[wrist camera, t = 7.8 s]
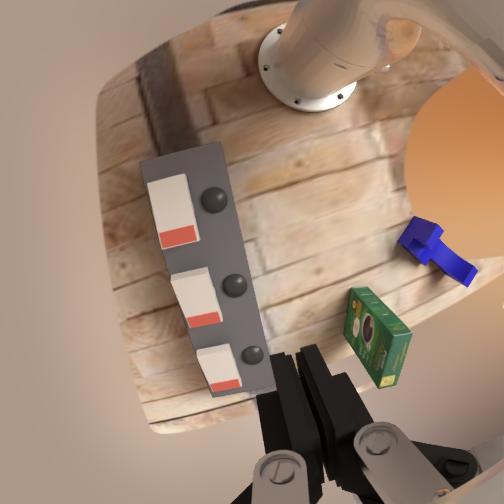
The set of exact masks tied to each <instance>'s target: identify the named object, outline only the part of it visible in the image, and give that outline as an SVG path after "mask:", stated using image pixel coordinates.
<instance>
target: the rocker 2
mask: <svg viewBox="0 0 504 504" xmlns="http://www.w3.org/2000/svg"><path fill="white" fill-rule="evenodd" d="M171 284H172V286H173V289H174V291H175V294H176V296H177V299H178V301H179V304H180V306H181V308H182V311H183V313H184V316H185V318H186V320H187V323H188V325H189V327H190V328H195V327H200V326H205V325H210V324H214V323H219V322H223V317H222V312H221V309H220V306H219V303H218V300H217V297H216V292H215V288H214V287H213V284H212V281H211V278H210V274H209V271H208V268H207V267H204V268H199V269H195V270H191V271H186V272H182V273H177V274H173V275H171Z"/></svg>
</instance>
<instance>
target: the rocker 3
mask: <svg viewBox="0 0 504 504" xmlns="http://www.w3.org/2000/svg"><path fill="white" fill-rule="evenodd" d="M197 359H198V361H199V363H200V365H201V368H202V370H203V372H204V374H205V377H206V379H207V381H208V383H209V385H210V387H211V390H212V392H217V391H222V390H228V389H233V388H238V387H241V386H242V382H241V378H240V375H239V372H238V369H237V366H236V361H235V358H234V357H233V354H232V351H231V348H230V345H229V343H228V344H223V345H219V346H214V347H208V348H203V349H198V350H197Z"/></svg>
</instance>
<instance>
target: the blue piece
mask: <svg viewBox="0 0 504 504" xmlns="http://www.w3.org/2000/svg"><path fill="white" fill-rule="evenodd" d="M443 232H444V231H443V229H442V228H441V227H440V226H439V225H438V224H436V223H433V222H430V221H427V220H424V219H422V218H418V217H416V216H414V217H413V219H412V220H411V222H410V223H409V225H408V226H407V228H406V229H405V231H404V232H403V234H402V235H401V237H400V238H399V240H398V241H397V242H398V243H400V244H401V245H402V246H403V247H404V248H405V249H406V250H407V251H408V252H409V253H411V254H412V255H413V256H414V257H415V258H416V259H417V260H418V261H419V262H420V263H422V264H423V265H425V266H426V265H427V263H428V262H429V260H430V259H431V260H432V261H433V262H434V263H435V264H436V265H437V266H438V267H439V268H440V269H441V270H442V271H443V272H444V273H445V274H446V275H448V276H449V277H451V278H453V279H454V280H456V281H458V282H459V283H461V284H463V285H464V286H466V287H468V286H469V285H470V283H471V281H472V280H473V278H474V277H475V275H476V273H477V272H478V270H477V269H476V268H475V267H474V266H473V265H471V264H470V263H468V262H467V261H465V260H464V259H462V258H461V257H459V256H458V255H457V254H455V253H454V252H453V251H452V250H451V249H449V248H448V247H447V246H446V245H445V244H444V243H443V242H442V241H441V240H440V239H439V238H440V236H441V235H442V233H443Z"/></svg>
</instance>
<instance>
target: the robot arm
mask: <svg viewBox="0 0 504 504" xmlns="http://www.w3.org/2000/svg"><path fill="white" fill-rule="evenodd" d="M422 27H423V28H424V29H426V30H427V31H429V32H430V33H432V34H433V35H434V36H436V37H437V38H438V39H440V40H441V41H442V42H443V43H445V44H447V45H449V46H450V47H451V48H452V49H454V50H455V51H456V52H457V53H458V54H459V55H461V56H462V57H463V58H464V59H465V60H466V61H468V62H469V63H470V64H471V65H472V66H473V67H474V68H475V69H476V70H477V71H478V72H479V73H481V74H482V75H483V76H484V77H485V78H486V79H487V80H488V81H489V82H490V83H491V84H492V85H493V86H494V87H495V88H496V89H497V90H498V91H499V92H500V93H501V94H502V95H503V96H504V0H299V1H298V3H297V4H296V6H295V8H294V10H293V12H292V14H291V16H290V18H289V20H288V22H287V23H284V24H281V25H279V26H278V27H276V28H274V29H273V30H272V31H271V32H270V33H269V34H268V35H267V36H266V38H265V39H264V40H263V42H262V45H261V47H260V50H259V54H258V68H259V73H260V76H261V78H262V81H263V83H264V84H265V86H266V87H267V89H268V90H269V91H270V92H271V93H272V94H273V96H274V97H276V98H277V99H278V100H279V101H281V102H282V103H284V104H286V105H288V106H289V107H291V108H294V109H297V110H300V111H306V112H322V111H326V110H330V109H332V108H335V107H337V106H338V105H340V104H342V103H343V102H344V101H346V100H347V99H348V98H349V97H350V95H351V94H352V92H353V91H354V89H355V86H356V84H357V81H359V80H361V79H362V78H364V77H366V76H368V75H370V74H372V73H387V72H388V70H389V65H390V64H392V63H394V62H396V61H398V60H400V59H402V58H403V57H405V56H406V55H407V54H408V53H410V52H411V50H412V49H413V48H414V47H415V45H416V43H417V41H418V39H419V37H420V33H421V28H422ZM278 33H280V34H281V35H280V34H278ZM264 68H266V69H267V71H264ZM337 96H338V97H339V98H340V99H338V98H337ZM294 101H297V102H298V104H295V103H294ZM300 351H301V352H298V353H296V360H297V366H298V372H299V375H298V372H297V369H296V367H295V364H294V361H293V358H292V356H291V354H290V355H286V356H285V353H284V352H282V353H278V354H273V355H269V357H270V362H271V366H272V370H273V375H274V379H275V383H276V388H277V391H273V392H269V393H264V394H260V395H256V399H257V405H258V411H259V417H260V423H261V429H262V435H263V441H264V446H265V453H266V455H265V456H263V457H262V458H261V459H259V461H258V462H257V464H256V465H255V468H254V473H253V482H252V483H251V484H250V485H249V486H248V487H247V488H246V489H245V490H244V491H243V492H242V493H241V494H240V495H239V496H238V497H237V498H236V499H235V500H234V501H233V502H232V503H231V504H316V503H317V502H318V501H319V499H320V498H321V497H322V495H323V494H322V486H321V484H322V483H325V482H324V471H323V465H324V467H325V471H326V474H327V477H328V479H329V481H332V480H335V481H336V484H337V487H339V486H341V488H342V490H345V491H348V492H351V493H352V494H353V497H354V499H355V500H356V502H357V503H358V504H504V434H503V435H501V436H498V437H496V438H494V439H492V440H489V441H486V442H483V443H481V444H478V445H476V446H474V447H473V448H472V449H471V450H468V451H465V450H462V449H456V448H449V447H442V446H437V445H431V444H426V443H421V442H416V441H411V440H409V439H408V437H407V436H406V435H405V434H404V433H403V432H402V431H401V430H400V429H399V428H398V427H397V426H396V425H394V424H391V423H388V422H374V421H373V419H372V418H371V416H370V414H369V412H368V410H367V409H366V407H365V405H364V403H363V401H362V400H361V398H360V396H359V394H358V392H357V391H356V389H355V387H354V385H353V384H352V382H351V380H350V378H349V377H348V375H347V373H345V372H344V373H341V374H337V375H334V376H332V375H331V373H330V372H329V369H328V368H327V365H326V363H325V361H324V359H323V357H322V355H321V353H320V351H319V349H318V347H317V346H316V344H313V345H309V346H305V347H302V348H300Z"/></svg>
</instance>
